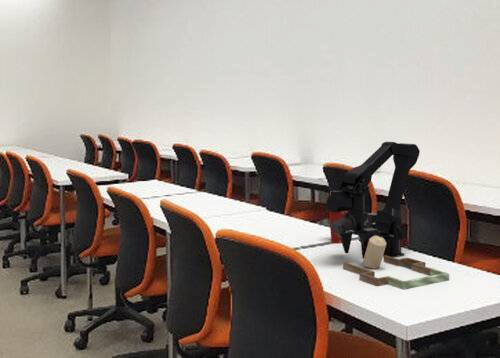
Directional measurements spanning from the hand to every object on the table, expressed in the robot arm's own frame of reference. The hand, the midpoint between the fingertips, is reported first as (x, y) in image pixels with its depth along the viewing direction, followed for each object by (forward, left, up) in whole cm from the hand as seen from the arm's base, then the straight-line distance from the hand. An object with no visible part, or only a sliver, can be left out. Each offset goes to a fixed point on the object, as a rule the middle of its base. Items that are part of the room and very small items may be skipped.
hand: (355, 255), depth 216 cm
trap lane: (0, +19, -2) cm, 19 cm away
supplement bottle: (-21, -15, -2) cm, 26 cm away
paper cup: (-15, -28, -2) cm, 32 cm away
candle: (0, +8, -1) cm, 8 cm away
